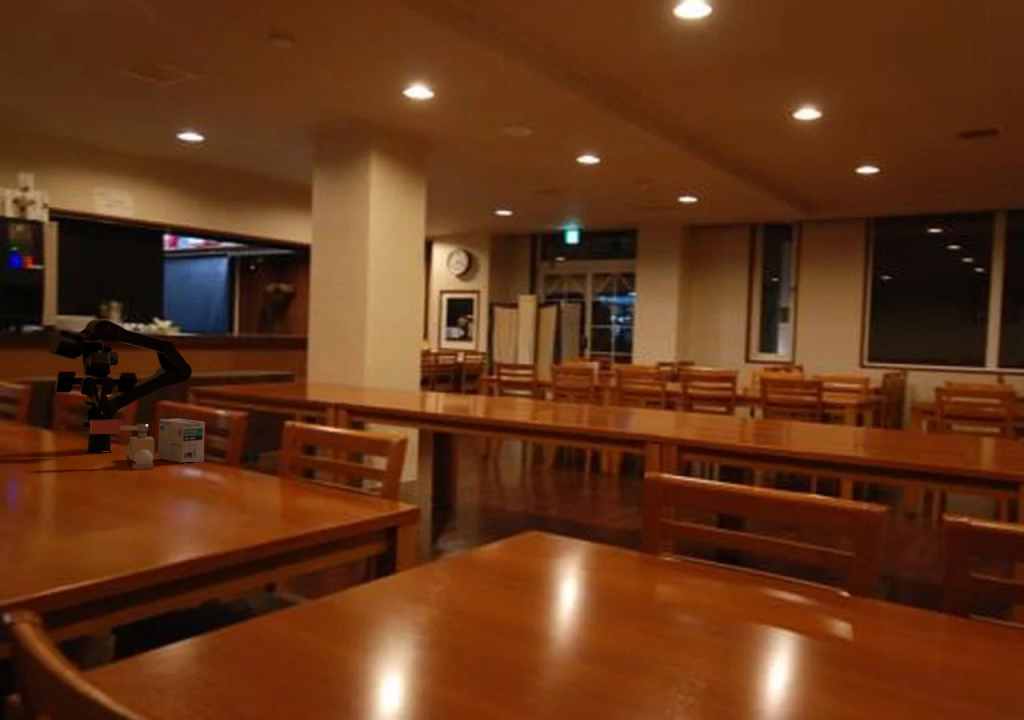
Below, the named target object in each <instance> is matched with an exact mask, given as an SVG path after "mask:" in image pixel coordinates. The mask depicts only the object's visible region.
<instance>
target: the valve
mask: <svg viewBox="0 0 1024 720" xmlns="http://www.w3.org/2000/svg"><path fill="white" fill-rule="evenodd" d="M147 432H148V431H137V436H129V444H128V445H127V446H126V452H127V454H126V455H125V460H126V459H127V460H134V461H133V463H132V469H133V470H134V469H136V470H154V469H155V465H154V463H153V461H154V456H155V453H154V452H155V438H153V437H152V436H148V435H147V434H148V433H147Z"/></svg>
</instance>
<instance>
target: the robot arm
mask: <svg viewBox="0 0 1024 720" xmlns="http://www.w3.org/2000/svg"><path fill="white" fill-rule="evenodd" d="M96 341H98V342H96ZM99 341H101V342H112V343H113V342H115V343H120V344H125V345H128V346H133V347H136V348H141V349H144V350H150V351H152V352H155V353H156V355H157V360H158V364H159V365H160V367H158V369H157V370H156V372H155V373H154V374H152V375H150V376H147V377H146V378H144V379H143V380H140V381H139V382H138V376H137V375H138V374H136V372H121V371H120V372H119V375H118V376H109V375H110V374H111V366H117V365H118V364H119V354H118V352H116V351H115V352H114V351H113V348H112V347H111V346H108V345H106V344H103V343H100V342H99ZM174 345H175V344H174V343H173V342H172V340H168V339H163V338H162V339H161V338H158V337H155V336H150V335H146V334H144V333H141V332H136V331H133V330H128V329H126V328H124V327H123V326H121V325H119V324H118V323H115V322H113V321H110V320H108V319H92V320H90V321H89V322H88V323H87V324H86V325H85V328H83V329H82V330H80V331H79V332H78V333H71V332H69V331H67V330H63V329H58V330H57V333H56V334H55V335H54V336H53V338H52V340H51V341H50V344H49V348H48V350H49V353H50V354H51V355H54V356H56V357H57V356H58V357H59V358H60V357H61V358H65V359H69V360H73V361H75V360H76V359H77V358H81V364H82V365H81V366H82V377H78V376H77V377H76V371H74V370H73V371H71V370H69V371H67V370H59V371H58V372H57V374H56V379H55V383H54V384H55V385H54V386H55V391H56V392H57V393H63V394H64V393H66V394H67V393H71V392H72V391H73V387H81V389H80V395H81V396H83V395H84V396H85V397H87V398H88V399H84V400H83V403H82V404H80V405H79V406H78V409H77V417H78V419H79V420H80V421H82V425H83V428H85V429H87V431H88V432H87V447H85V448H84V451H85V450H86V451H85V452H86V453H87V452H99V453H103V452H102V451H111V450H110V449H111V448H112V434H90V421H91V420H116V419H115V418H114V416H115V415H116V414H117V413H118V411H119V410H121V409H122V408H124V407H126V406H129V405H130V404H132V403H134V402H136V401H138V400H141V399H142V398H144V397H146V396H149V395H151V394H152V393H155V392H156V391H158V390H161V389H162V388H164V387H169V386H173V385H177V384H181V383H184V382H187V381H189V380H190V378H191V377H192V372H193V371H192V366H191V365H190V364H189V363H187V361H186V359H185V358H184V356H182V355H181V353H180V352H179V351H178V350H177V349H176V347H175V346H174ZM114 386H116V390H117V392H116V393H114V394H112V391H113V389H114ZM98 387H99V390H98ZM111 394H112V395H111Z"/></svg>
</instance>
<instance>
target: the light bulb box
mask: <svg viewBox="0 0 1024 720" xmlns="http://www.w3.org/2000/svg"><path fill="white" fill-rule="evenodd" d="M158 423H159V424H158V426H159V428H158V450H157V453H158V454H157V459H158V458H163V459H167V460H175V461H180V462H194V463H203V462H204V459H205V458H204V457H205V456H204V454H205V428H206V422H205V421H200V420H193V419H184V418H161V419H159V422H158Z"/></svg>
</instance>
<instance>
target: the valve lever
mask: <svg viewBox="0 0 1024 720" xmlns="http://www.w3.org/2000/svg"><path fill="white" fill-rule="evenodd" d="M121 422H122V421H121V419H115V420H91V421H90V434H111V435H114V434H115V435H117V434H118V435H120V434H121V431H136V432H150V431H149V429H150V427H149V426H150V425H149V423H137V424H134V425H133V424H132V425H131V424H130V425H129V424H128V425H127V424H126V425H122V423H121Z"/></svg>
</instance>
